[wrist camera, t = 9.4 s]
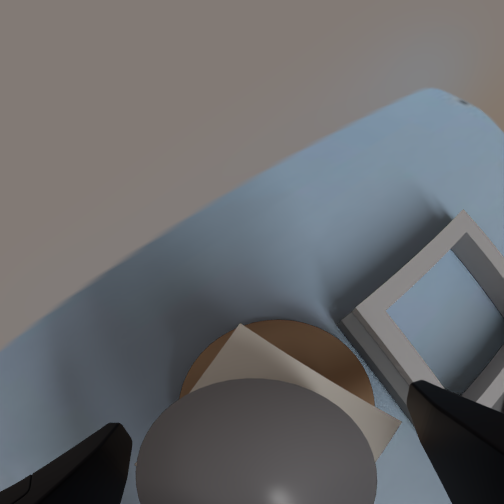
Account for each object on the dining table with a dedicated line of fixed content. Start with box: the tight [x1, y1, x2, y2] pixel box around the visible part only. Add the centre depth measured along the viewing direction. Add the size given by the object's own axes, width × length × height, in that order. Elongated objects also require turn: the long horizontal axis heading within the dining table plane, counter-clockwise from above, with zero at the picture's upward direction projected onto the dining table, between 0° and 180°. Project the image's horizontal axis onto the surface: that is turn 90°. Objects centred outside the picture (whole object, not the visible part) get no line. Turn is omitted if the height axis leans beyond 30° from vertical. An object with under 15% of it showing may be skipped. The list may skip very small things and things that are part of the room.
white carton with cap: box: [135, 323, 402, 504], centre depth 10 cm, size 5×5×13 cm
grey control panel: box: [337, 209, 504, 427], centre depth 14 cm, size 21×12×3 cm, turn 35°
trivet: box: [179, 320, 375, 407], centre depth 16 cm, size 11×11×1 cm
